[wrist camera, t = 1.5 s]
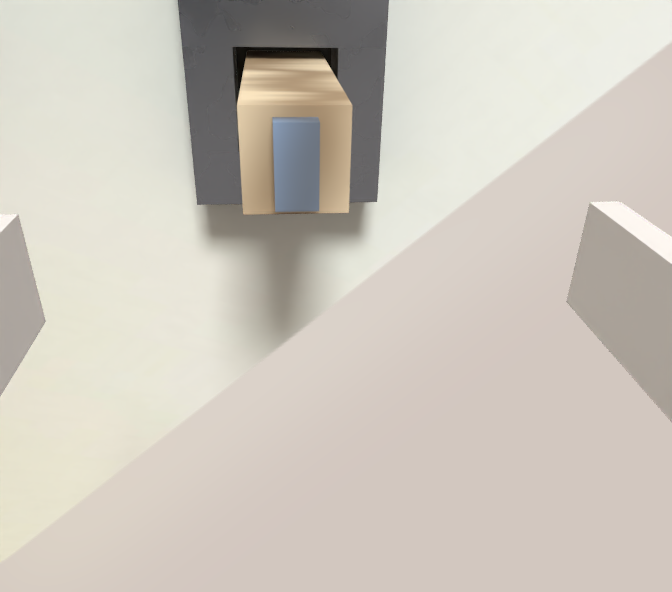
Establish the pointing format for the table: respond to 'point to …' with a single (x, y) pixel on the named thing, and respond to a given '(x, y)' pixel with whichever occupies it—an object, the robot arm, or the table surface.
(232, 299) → the table surface
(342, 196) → the plug
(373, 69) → the panel
